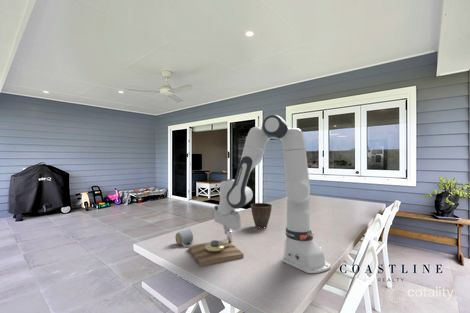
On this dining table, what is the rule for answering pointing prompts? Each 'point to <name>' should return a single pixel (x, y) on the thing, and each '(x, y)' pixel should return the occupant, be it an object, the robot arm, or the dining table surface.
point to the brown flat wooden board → (214, 254)
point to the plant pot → (261, 214)
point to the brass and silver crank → (218, 244)
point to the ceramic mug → (184, 237)
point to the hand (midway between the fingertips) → (226, 234)
